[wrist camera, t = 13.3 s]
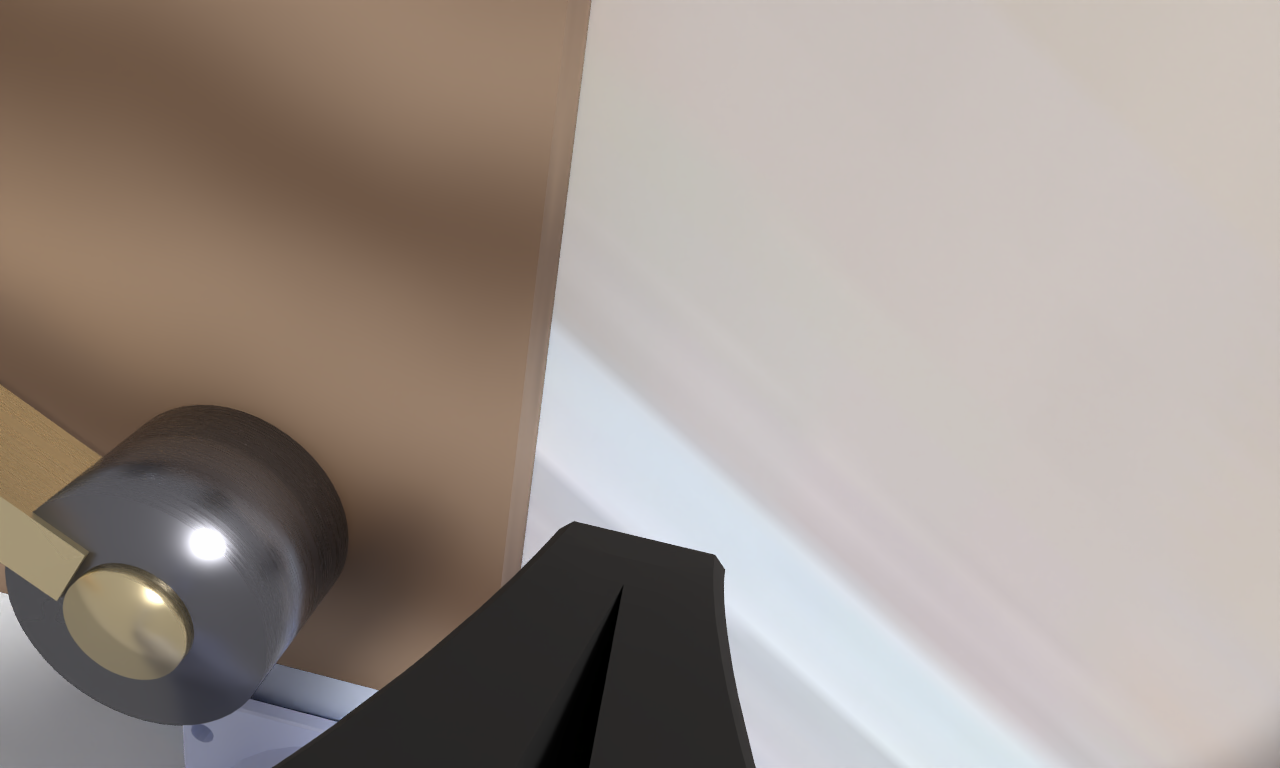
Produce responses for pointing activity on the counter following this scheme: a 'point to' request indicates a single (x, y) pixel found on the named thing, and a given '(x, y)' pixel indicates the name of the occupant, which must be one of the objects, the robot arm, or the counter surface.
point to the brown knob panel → (304, 261)
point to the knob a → (165, 555)
